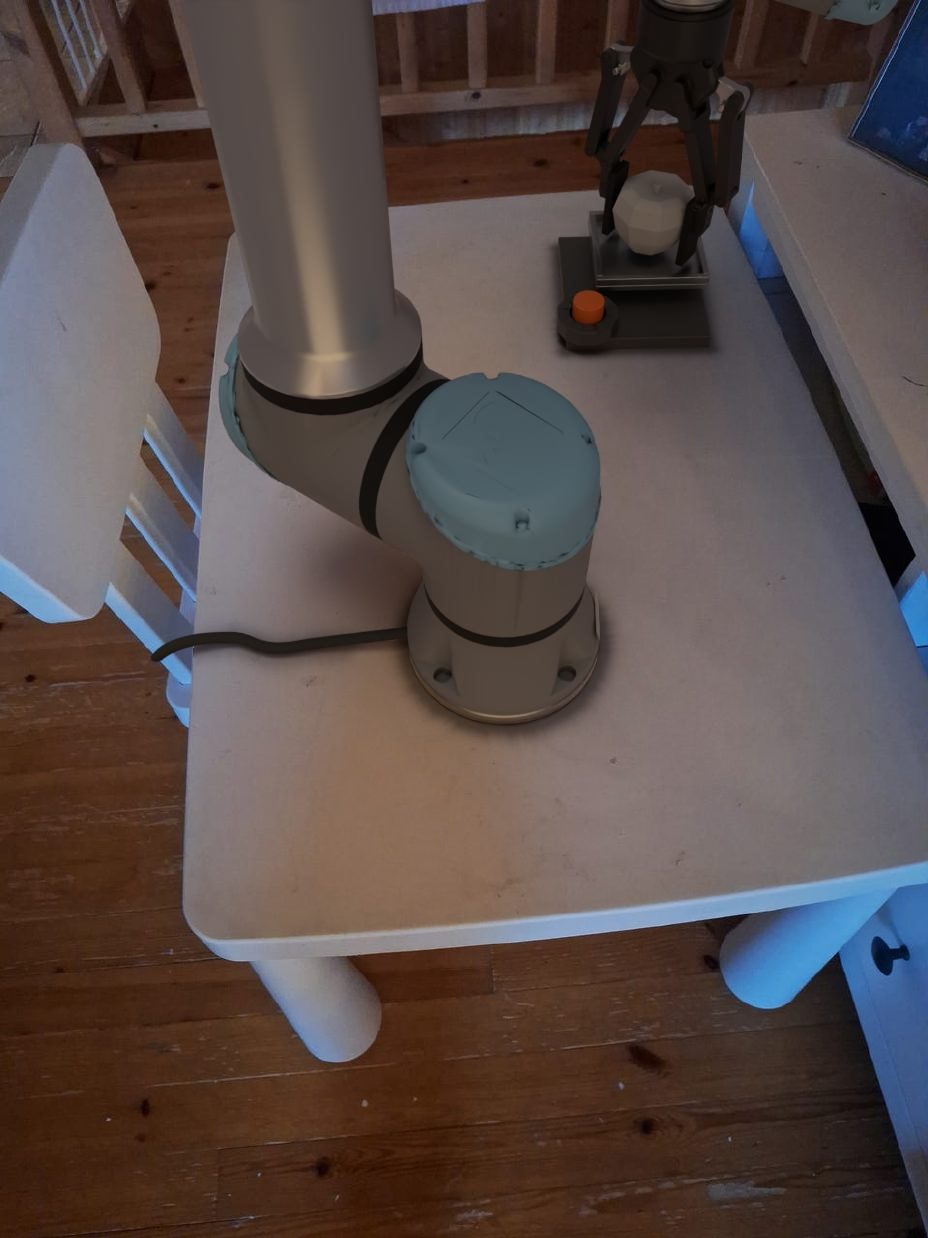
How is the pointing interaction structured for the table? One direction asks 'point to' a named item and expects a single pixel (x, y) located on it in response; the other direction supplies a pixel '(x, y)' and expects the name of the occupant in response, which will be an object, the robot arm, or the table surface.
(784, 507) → the table surface
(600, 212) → the scale pan
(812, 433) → the table surface
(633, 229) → the apple
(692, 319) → the scale
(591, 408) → the table surface
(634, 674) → the table surface
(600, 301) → the tare button
